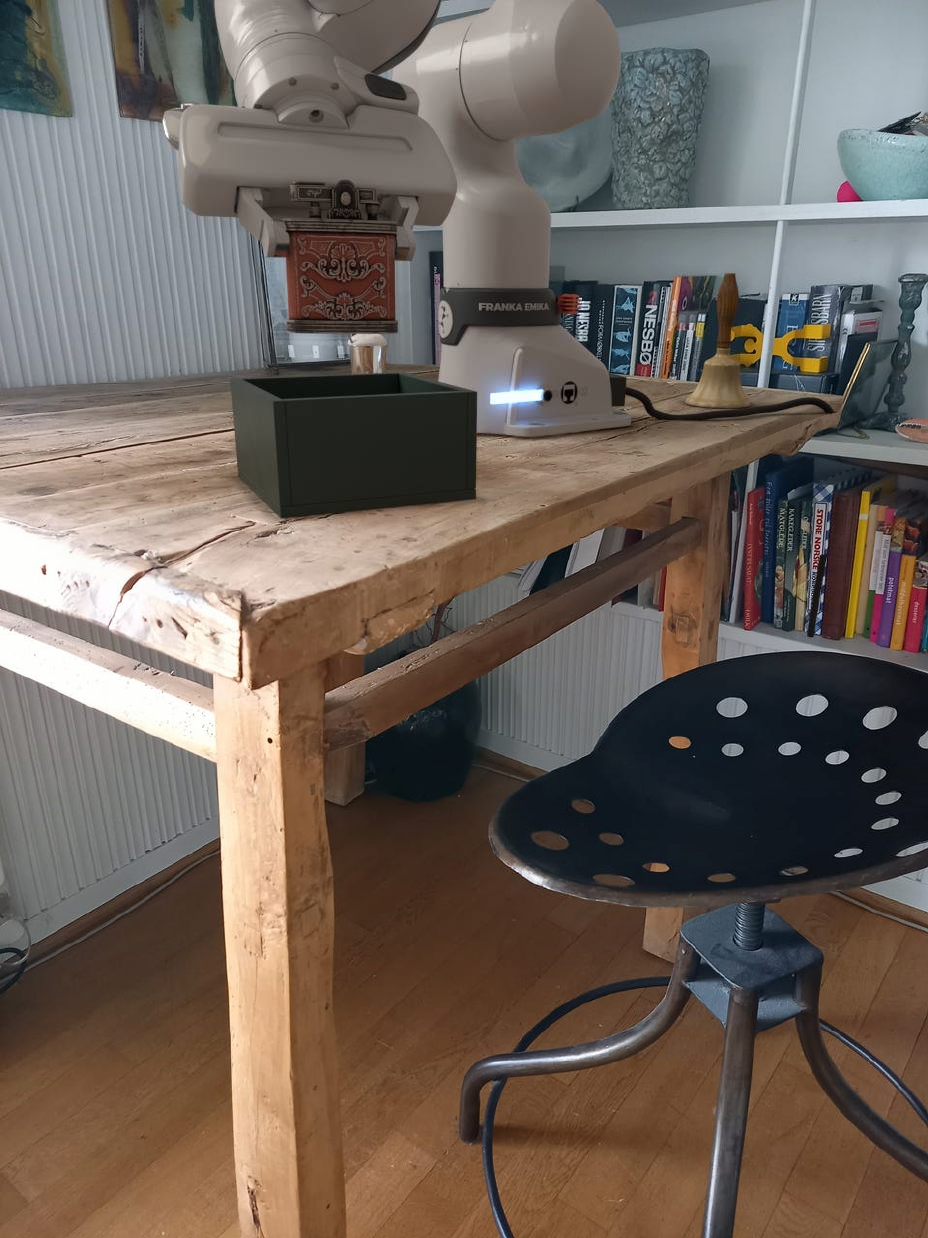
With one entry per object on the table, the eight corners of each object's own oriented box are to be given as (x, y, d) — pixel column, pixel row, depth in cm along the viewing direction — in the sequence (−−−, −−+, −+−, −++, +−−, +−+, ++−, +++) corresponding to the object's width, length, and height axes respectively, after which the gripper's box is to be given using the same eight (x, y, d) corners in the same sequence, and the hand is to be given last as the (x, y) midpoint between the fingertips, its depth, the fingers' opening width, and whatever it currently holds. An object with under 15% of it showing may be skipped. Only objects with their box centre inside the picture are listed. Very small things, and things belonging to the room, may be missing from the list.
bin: (405, 463, 79) (404, 371, 76) (476, 499, 67) (477, 391, 64) (238, 476, 73) (229, 378, 71) (280, 518, 61) (272, 401, 58)
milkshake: (337, 412, 108) (333, 324, 104) (373, 408, 111) (371, 323, 107) (359, 417, 104) (357, 326, 101) (396, 412, 108) (394, 325, 104)
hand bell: (740, 410, 112) (756, 272, 106) (676, 405, 116) (688, 272, 110) (758, 403, 119) (773, 273, 113) (696, 398, 123) (708, 272, 117)
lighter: (394, 331, 68) (392, 185, 65) (401, 333, 65) (400, 180, 61) (286, 331, 66) (278, 180, 63) (288, 333, 63) (280, 175, 60)
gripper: (158, 60, 61) (194, 208, 57) (435, 90, 69) (487, 222, 65) (157, 141, 67) (189, 283, 62) (414, 160, 75) (460, 287, 70)
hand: (344, 252), depth 63 cm, fingers closed on lighter, 8 cm apart
